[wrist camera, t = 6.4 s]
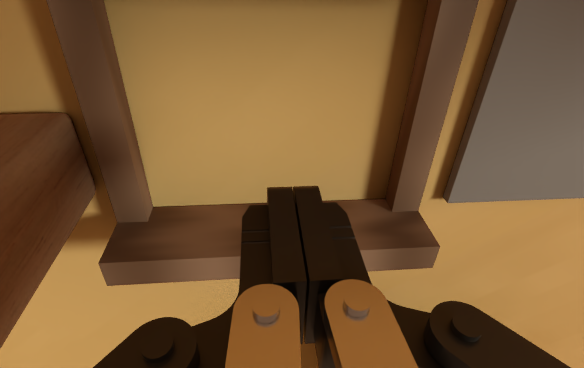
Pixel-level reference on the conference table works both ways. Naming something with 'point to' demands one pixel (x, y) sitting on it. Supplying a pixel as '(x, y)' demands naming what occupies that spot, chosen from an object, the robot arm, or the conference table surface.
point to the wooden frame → (228, 218)
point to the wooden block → (36, 203)
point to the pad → (527, 110)
